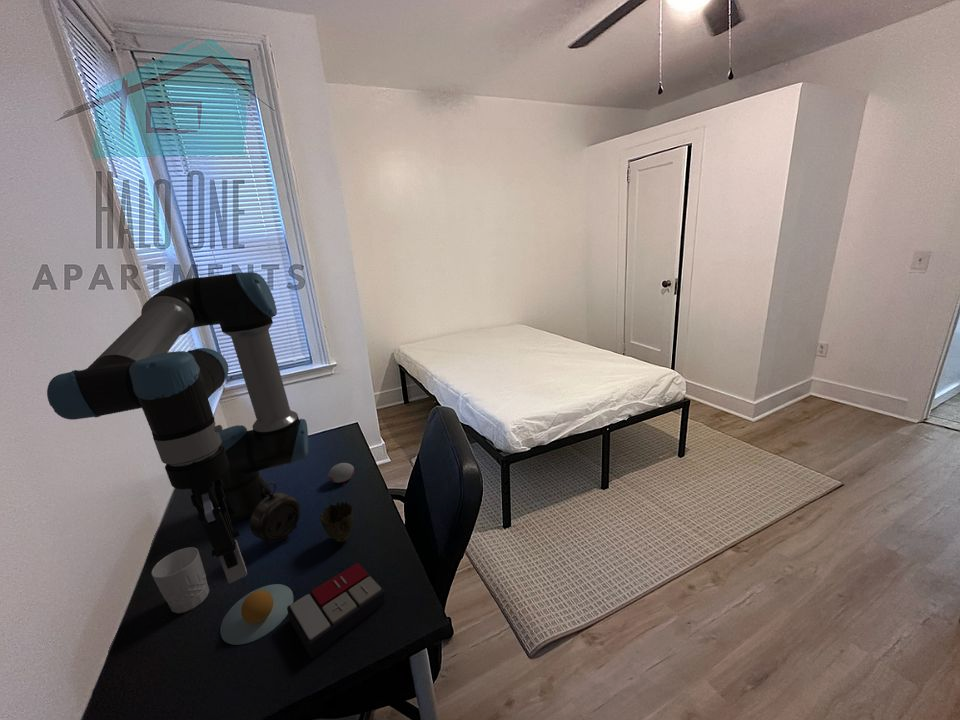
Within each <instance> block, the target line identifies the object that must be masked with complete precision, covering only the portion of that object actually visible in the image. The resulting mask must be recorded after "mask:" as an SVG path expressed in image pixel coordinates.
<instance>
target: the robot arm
mask: <svg viewBox="0 0 960 720" xmlns="http://www.w3.org/2000/svg"><path fill="white" fill-rule="evenodd" d="M140 311H141V312H140V313H141V314H140V316H139V317H138V318H137V319H136V320H135V321H133V322H132V323H131V324H130V325H129V326H128V327H127V328H126V329H125V331H123V333H121V334H120V336H119V337H117V338H116V339H115V340H114V341H113V342H112V343H111V344H110V345H109V346H108V347H107V348H106V349H105V350H104V351H103V352H101V354H100V355H99V356H98V357H97V358H96V359H95V360H94V361H93V362H92V363H91V364H90V365H89V366H88V367H87V368H85V369H81V370H80V369H79V370H78V369H75V370H72V371H68V372H64V373H59V374H57V375H55V376H54V377H53V378H52V379H50V380H49V383H48V386H47V389H46V396H47V397H46V398H47V401H48V403H49V406H50V407H51V408H52V409H53V411H54V413H55V414H57V415H58V416H59V417H61V418H63V419H66V420H69V421H70V420H74V421H75V420H81V419H88V418H100V417H102V416H107V415H112V414H118V413H122V412H123V413H124V412H128V411H132V410H133V411H134V410H138V409H142V411H143V414H144V416H145V418H146V421H147V425H148V426H149V428H150V431H151V435H152V439H153V442H154V445H155V447H156V450H157V452H158V456H159V458H160V461H161V462H162V463H163V464H165V466H164V470H165V472H166V475H167V477H168V480H169V483H170V485H171V486H172V487H173V488H174V489H177V490H191V493H192V495H190V500H191V503H192V505H193V507H195V508H196V510H197V513H198V515H197V519H198V521H199V522H200V524H201V525H202V526H203V529H204V530H205V531H204V532H205V533H206V536H207V538H208V540H209V543H210V545H211V547H212V549H211V556H212V557H214V556H216V558H219V561H220V563H221V565H222V569H223V571H224V574H225V577H226V579H227V583H228V584H232V583H233V582H236V581H238V580H240V579H242V578H244V577H246V576H248V571H247V567H246V564H245V561H244V558H243V556H242V553H241V550H240V547H239V544H238V541H237V538H238V537H239V536H240V531H239V530H236V531H234V530H233V529H234V523H239V522H242V521H245V520H247V519H251V516H252V513H253V511H254V509H255V508H256V506H257V505H258V504H259V503H260V502H261V501H262V500H263V499H264V498H266V497H267V496H264V495H263V488H264V486H265V485H266V484H267V483H268V482H267V481H266V480H265V478H263V476H262V475H261V474H260V471H264V470H267V469H268V470H269V469H272V468H278V467H280V466H284V465H289V464H290V465H292V464H293V463H297V462H300V461H303V460H304V459H306V458H307V456H308V454H309V453H308V452H309V431H308V423H307V420H306V419H305V418H299V414H298V413H297V412H296V411H293V410H291V408H290V405H289V400H288V397H287V394H286V390H285V386H284V383H283V379H282V375H281V371H280V368H279V365H278V361H277V356H276V354H275V350H274V347H273V346H274V345H273V343H272V338H271V335H270V334H271V333H270V330H269V329H270V328H271V327H272V326H273V324H274V322H273V318H274V317H275V316H277V314H278V311H277V306H276V301H275V299H274V296H273V293H272V292H271V289H270V287H269V285H268V283H267V282H266V280H265V279H264V277H263V276H262V275H260V274H259V273H257V272H254V271H253V272H251V271H250V272H235V273H227V274H226V273H225V274H219V275H212V276H210V275H209V276H202V277H192V278H186V279H182V280H181V281H178V282H175V283H172V284H171V285H169V286H167V287H165V288H163V289H162V290H160V291H158V292H157V293H155V294H153V295H152V296H151V297H150V298H149V299H148V300H146V302H145V303H144V304H143V306H142V308H141V310H140ZM215 325H219V327H220V329H221V332H222V333H223V334H225V335H226V336H229V337H230V339H231V341H232V345H233V347H234V351H235V354H236V357H237V360H238V361H237V362H238V363H239V368H240V370H241V373H242V377H243V380H244V383H245V386H246V390H247V393H248V396H249V399H250V402H251V406H252V408H253V412H254V415H255V418H256V420H255V421H254V422H253V424H252V426H251V427H252V429H251V430H248V428H247V427H246V426H245V425H242V424H241V425H239V424H237V425H233V426H230V427H227V428H224V429H223V426H222V425H221V424H218V425H216V421H215V417H214V413H213V410H212V406H211V404H210V401H209V399H210V397H211V396H212V395H213V394H214V393H215V392H216V391H217V390H219V389H220V388H221V387H222V386H223V385H224V383H225V381H226V378H227V377H228V375H229V369H230V368H229V363H228V362H227V360H226V358H225V357H224V355H222V354H221V353H220V352H219V351H216V350H215V349H212V348H207V347H202V348H201V347H199V348H195V349H190V350H188V351H183V350H180V351H179V350H178V351H170V349H171V348H172V347H173V345H174V344H175V343H176V341H177V340H178V338H179V337H180V336H182V335H185V334H186V333H188V332H190V331H191V330H192V329H193V328H199V327H206V326H215ZM169 351H170V352H169ZM271 492H273V489H272V487H271V486H270V485H269V484H268V485H267V486H266V487H265V489H264V494H265V495H269V493H271Z"/></svg>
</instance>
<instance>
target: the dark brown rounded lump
mask: <svg viewBox="0 0 960 720" xmlns="http://www.w3.org/2000/svg"><path fill="white" fill-rule="evenodd" d="M323 510H324V512H323V513H320V514H319V520H320V522H321V524H322V527H323V530H324V531H325V533H326V535H327V536H328V537H329V538H331V539H333V540H334V541H335V542H336V543H339V544H341V543H344V542H347V540H348V539H349V538H350V533H351V531H352V529H353V527H354V515H353V512H354V511H353V505H351V503H348V502H347V501H346V502H344V501H342V502H341V503H340V502H336V504H334V503H331V504H330V505H329V506H328V507H324V509H323Z"/></svg>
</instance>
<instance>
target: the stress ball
mask: <svg viewBox="0 0 960 720" xmlns="http://www.w3.org/2000/svg"><path fill="white" fill-rule="evenodd" d="M328 471H329V472H328V474H327V476H328V478H329V481H331V482H333V483H338V484H339V483H343V484H342V486H345V485H347V484H346V482H347V481H348V480H349V479H351V478H352V477H353V475H354V473H355V468H354V465H352V464H351V463H348V462H340V463H337V464H335V465H334V466H332V467H331V468H330V469H329V470H328Z"/></svg>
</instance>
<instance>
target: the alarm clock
mask: <svg viewBox="0 0 960 720" xmlns="http://www.w3.org/2000/svg"><path fill="white" fill-rule="evenodd" d="M269 484H272V485H273V486H274V489H273V490H272V492H271V493H269V495H265V494H264V489H265V487H266V486H267V485H269ZM276 489H277V485H276V483H275V482H273V481H269V482H267V484H266V485H265V486H264V488H263V495H264V496H267V497H266V498H264V499H263V500H262V501H261V502H260V503H259V504H258V505H257V506H256V508H255V509H254V511H253V513H252V516H251V517H250V518H249V519H250V520H249V528H250V531H251V533H252V534H253V535H254V536H255V537H256V538H258V539H260V540H262V541H263V542H264V546H263V547H262V550H263V551H265V550H266V548H267V546H268V544H269V543H275V542H279V541H281V540H283V539H284V540H285V541H286V542H287V543H289V542H290V538H289V534H291V533H292V532H293V531H294V529H295V528H297V527H298V526H297V524H298V522H299V520H300V517H301V505H300V502H299V501H298V499H296V498H295V497H294V496H292V495H289V494H287V493H284V492H275V491H276Z"/></svg>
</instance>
